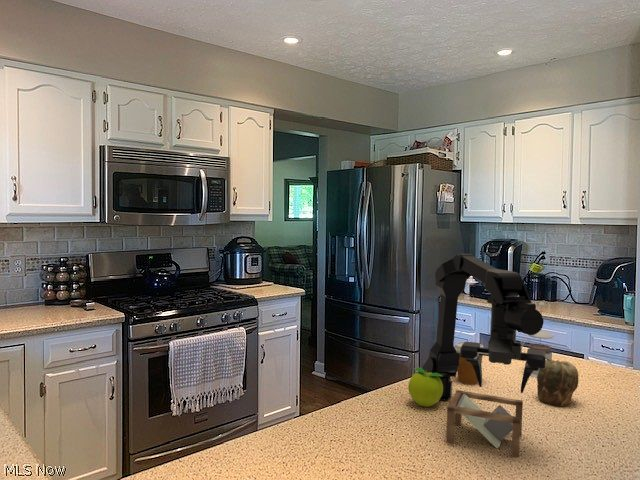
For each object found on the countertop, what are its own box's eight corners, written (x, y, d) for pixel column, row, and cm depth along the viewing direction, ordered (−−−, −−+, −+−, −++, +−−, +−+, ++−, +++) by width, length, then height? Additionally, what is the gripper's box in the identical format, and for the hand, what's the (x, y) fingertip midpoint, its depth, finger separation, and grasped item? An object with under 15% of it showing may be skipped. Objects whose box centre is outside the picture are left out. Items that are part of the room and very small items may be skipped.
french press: (559, 379, 167) (563, 305, 166) (524, 378, 168) (527, 304, 166) (546, 370, 177) (550, 299, 176) (513, 369, 177) (516, 299, 176)
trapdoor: (455, 407, 120) (458, 405, 119) (461, 395, 128) (464, 392, 128) (496, 448, 116) (499, 446, 116) (500, 433, 124) (503, 430, 124)
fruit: (419, 396, 149) (420, 363, 148) (447, 405, 142) (448, 370, 142) (401, 404, 142) (402, 369, 142) (430, 414, 136) (431, 377, 135)
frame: (446, 442, 119) (447, 407, 119) (455, 422, 131) (456, 389, 130) (518, 457, 112) (520, 419, 112) (521, 434, 124) (522, 400, 124)
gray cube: (483, 425, 119) (497, 411, 118) (485, 417, 124) (499, 404, 122) (499, 441, 118) (515, 428, 116) (501, 433, 122) (516, 420, 121)
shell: (582, 410, 141) (584, 368, 140) (540, 406, 143) (542, 365, 142) (571, 396, 151) (573, 357, 151) (532, 393, 154) (534, 354, 153)
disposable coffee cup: (477, 376, 168) (478, 341, 168) (487, 386, 159) (489, 349, 158) (449, 376, 168) (450, 341, 167) (458, 386, 158) (459, 348, 158)
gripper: (457, 327, 115) (455, 393, 116) (546, 337, 108) (543, 408, 108) (464, 318, 125) (462, 379, 126) (546, 326, 118) (543, 392, 119)
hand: (500, 389), depth 120 cm, fingers open, 9 cm apart
